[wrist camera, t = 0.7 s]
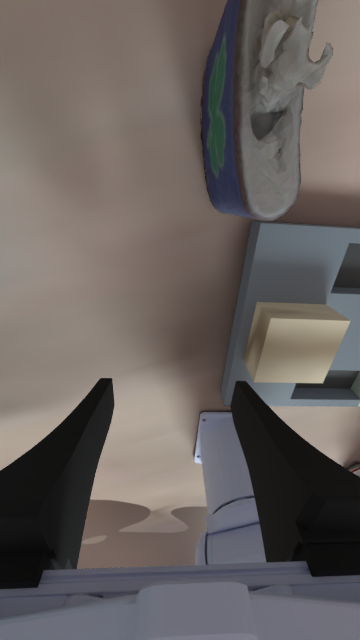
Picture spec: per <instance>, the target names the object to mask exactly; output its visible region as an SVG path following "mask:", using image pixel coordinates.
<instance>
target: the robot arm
mask: <svg viewBox="0 0 360 640" xmlns="http://www.w3.org/2000/svg"><path fill="white" fill-rule="evenodd" d="M230 407H231V412H202V413H201V414H200V419H199V426H198V433H197V441H196V448H195V455H194V462H196V463H202V469H203V477H204V485H205V493H206V501H207V509H208V513H209V516H208V517H206V524H207V531H203V532H202V533H201V535H200V538H199V542H198V544H197V548H196V565H179V566H150V567H123V568H122V567H121V568H92V569H77V563H78V557H79V552H80V547H81V541H82V536H83V530H84V525H85V520H86V515H87V510H88V505H89V500H90V496H91V491H92V486H93V482H94V477H95V473H96V469H97V465H98V462H99V458H100V455H101V452H102V449H103V446H104V443H105V440H106V436H107V433H108V430H109V427H110V424H111V419H112V415H113V409H114V395H113V384H112V378H101V379H100V380H99V381H98V382H97V383H96V385H95V386H94V387H93V388H92V390H91V391H90V392H89V393H88V395H87V396H86V397H85V398H84V399H83V400H82V402H81V403H80V404H79V405H78V406H77V407H76V408H75V409H74V410H73V411H72V413H71V414H70V415H69V416H68V417H67V418H66V419H65V420H64V421H63V422H62V423H61V424H60V425H59V426H57V427H56V428H55V429H54V430H53V431H52V432H51V433H50V434H49V435H47V436H46V437H45V438H44V439H43V440H41V441H40V442H39V443H38V444H37V445H35V446H34V447H33V448H32V449H30V450H29V451H28V452H26V453H25V454H24V455H22V456H21V457H19V458H18V459H17V460H15V461H14V462H13V463H11V464H10V465H8V466H7V467H5V468H4V469H2V470H1V471H0V640H360V477H359V476H357V475H356V474H354V473H352V472H351V471H349V470H347V469H345V468H344V467H342V466H341V465H339V464H338V463H336V462H335V461H333V460H332V459H330V458H329V457H327V456H326V455H324V454H323V453H321V452H320V451H319V450H317V449H316V448H315V447H313V446H312V445H311V444H309V443H308V442H307V441H305V440H304V439H303V438H302V437H301V436H299V435H298V434H297V433H296V432H295V431H293V430H292V429H291V428H290V427H289V426H288V425H287V424H286V423H285V422H284V421H282V420H281V419H280V418H279V417H278V416H277V415H276V414H275V413H274V412H273V411H272V410H271V408H270V407H269V406H268V405H267V404H266V403H265V402H264V401H263V400H262V399H261V398H260V396H259V395H258V394H257V393H256V392H255V391H254V390H253V388H252V387H251V386H250V385H249V384H248V383H247V382H246V381H236V383H235V387H234V391H233V396H232V400H231V405H230Z"/></svg>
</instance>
